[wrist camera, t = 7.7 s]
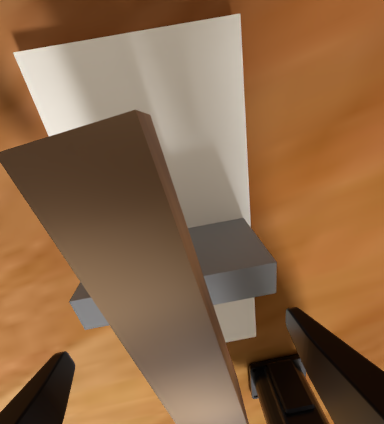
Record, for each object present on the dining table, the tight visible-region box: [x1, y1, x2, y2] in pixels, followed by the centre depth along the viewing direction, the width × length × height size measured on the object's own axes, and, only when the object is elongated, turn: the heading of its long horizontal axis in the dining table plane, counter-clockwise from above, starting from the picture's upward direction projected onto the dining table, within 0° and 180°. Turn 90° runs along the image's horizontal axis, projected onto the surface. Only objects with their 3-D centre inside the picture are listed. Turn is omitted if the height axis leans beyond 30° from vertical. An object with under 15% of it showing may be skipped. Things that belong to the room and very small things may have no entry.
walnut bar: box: [0, 110, 249, 424], centre depth 9 cm, size 16×3×3 cm, turn 16°
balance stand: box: [13, 14, 277, 342], centre depth 13 cm, size 24×11×6 cm, turn 9°
